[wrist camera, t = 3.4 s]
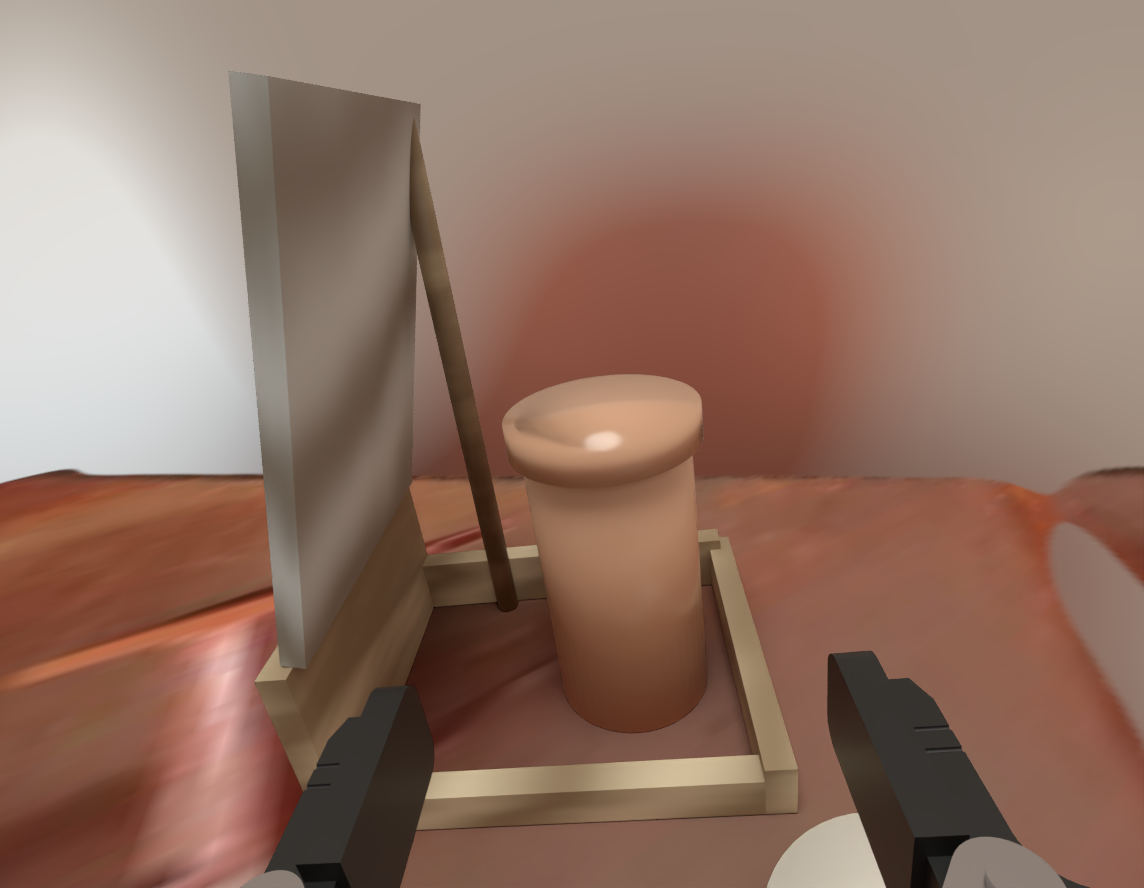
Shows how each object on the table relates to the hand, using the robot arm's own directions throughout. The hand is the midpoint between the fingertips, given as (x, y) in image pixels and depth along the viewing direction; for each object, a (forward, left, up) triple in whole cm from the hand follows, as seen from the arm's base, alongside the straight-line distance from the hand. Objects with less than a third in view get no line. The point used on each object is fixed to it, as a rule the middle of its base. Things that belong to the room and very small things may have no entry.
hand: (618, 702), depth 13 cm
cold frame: (-3, +11, -10) cm, 16 cm away
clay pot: (0, +11, -10) cm, 15 cm away
